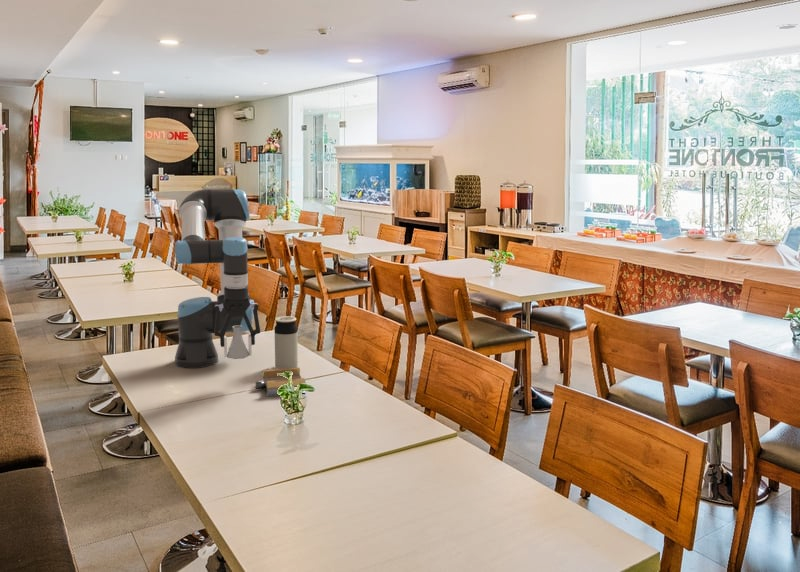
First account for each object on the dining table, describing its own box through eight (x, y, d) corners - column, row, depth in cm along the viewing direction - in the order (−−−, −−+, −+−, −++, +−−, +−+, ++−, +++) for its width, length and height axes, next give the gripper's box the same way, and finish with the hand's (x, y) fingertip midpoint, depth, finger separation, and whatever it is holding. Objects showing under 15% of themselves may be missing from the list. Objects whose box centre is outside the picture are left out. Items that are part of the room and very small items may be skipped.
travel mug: (302, 366, 248) (301, 317, 245) (287, 372, 241) (286, 322, 238) (285, 362, 252) (284, 314, 249) (270, 368, 246) (269, 319, 242)
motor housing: (253, 383, 229) (253, 370, 228) (299, 379, 234) (298, 367, 233) (257, 397, 216) (257, 383, 215) (305, 393, 220) (305, 380, 220)
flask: (252, 353, 228) (251, 324, 226) (245, 360, 221) (244, 330, 219) (230, 352, 229) (230, 323, 226) (223, 359, 222) (222, 329, 219)
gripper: (203, 290, 213) (206, 360, 218) (269, 287, 219) (270, 356, 224) (203, 285, 220) (205, 353, 225) (266, 282, 226) (267, 349, 231)
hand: (238, 355), depth 225 cm, fingers closed on flask, 7 cm apart
